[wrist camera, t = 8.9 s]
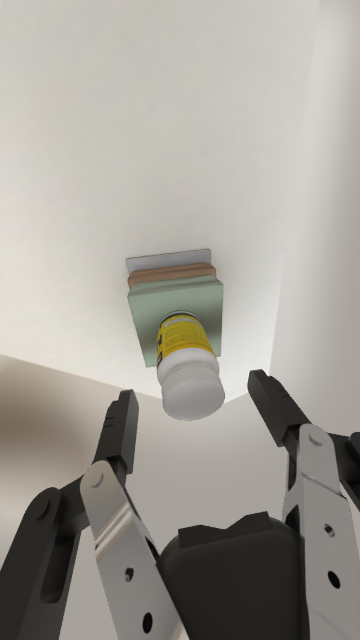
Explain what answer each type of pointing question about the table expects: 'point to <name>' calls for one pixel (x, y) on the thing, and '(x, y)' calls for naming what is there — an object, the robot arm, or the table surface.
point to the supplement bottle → (187, 368)
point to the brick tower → (175, 302)
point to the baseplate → (168, 260)
